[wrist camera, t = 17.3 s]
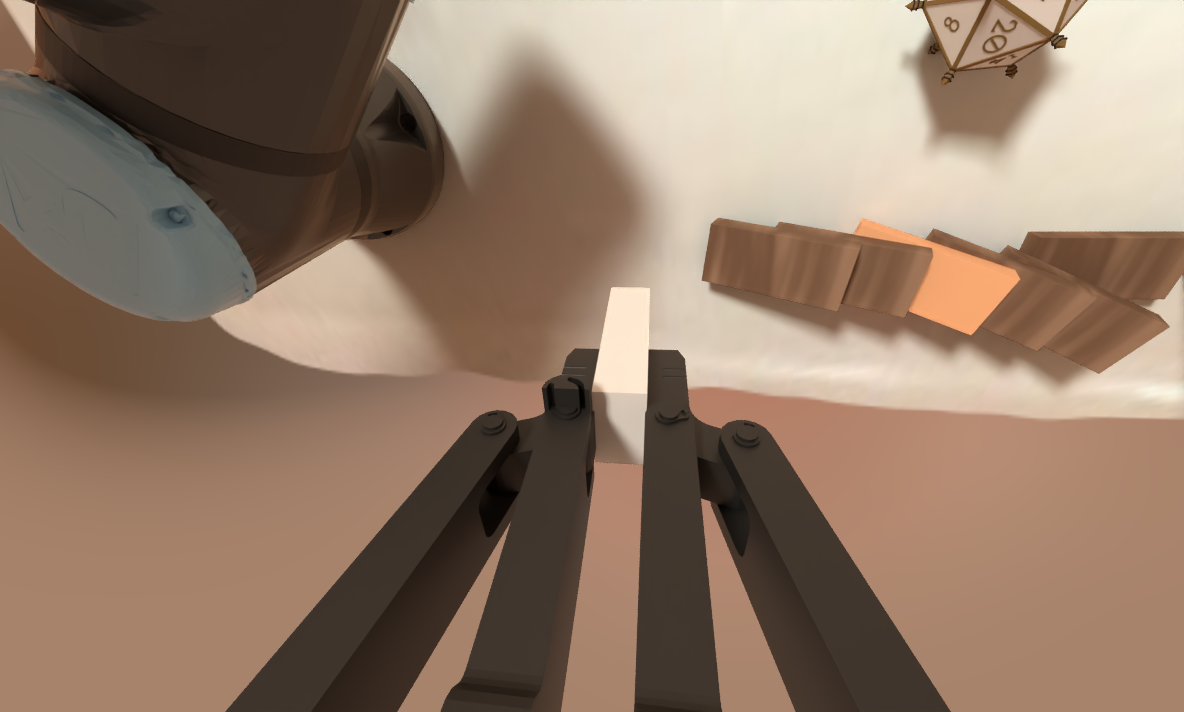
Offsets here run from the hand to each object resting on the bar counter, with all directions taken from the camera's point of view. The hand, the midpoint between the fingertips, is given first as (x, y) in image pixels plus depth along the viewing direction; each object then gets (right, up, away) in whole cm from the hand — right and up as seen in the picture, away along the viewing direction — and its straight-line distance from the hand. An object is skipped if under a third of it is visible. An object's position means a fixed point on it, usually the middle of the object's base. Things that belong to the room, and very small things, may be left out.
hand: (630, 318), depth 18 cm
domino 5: (+33, +6, +19) cm, 39 cm away
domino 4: (+25, +6, +19) cm, 32 cm away
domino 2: (+14, +7, +21) cm, 26 cm away
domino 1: (+9, +8, +21) cm, 24 cm away
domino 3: (+20, +7, +19) cm, 28 cm away
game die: (+23, +21, +11) cm, 33 cm away
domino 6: (+30, +5, +19) cm, 36 cm away
